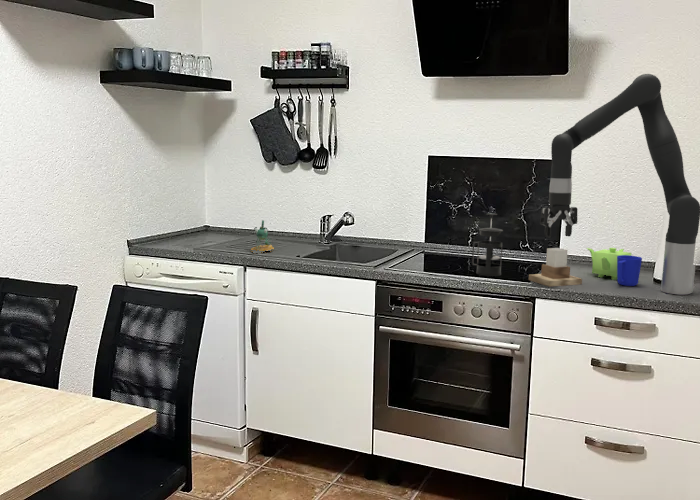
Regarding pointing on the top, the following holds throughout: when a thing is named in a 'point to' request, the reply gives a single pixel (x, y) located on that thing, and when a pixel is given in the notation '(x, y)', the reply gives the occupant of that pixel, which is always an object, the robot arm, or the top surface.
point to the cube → (556, 257)
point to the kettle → (606, 262)
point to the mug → (628, 270)
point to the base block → (555, 272)
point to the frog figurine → (262, 235)
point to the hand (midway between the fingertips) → (558, 236)
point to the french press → (488, 251)
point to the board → (554, 280)
